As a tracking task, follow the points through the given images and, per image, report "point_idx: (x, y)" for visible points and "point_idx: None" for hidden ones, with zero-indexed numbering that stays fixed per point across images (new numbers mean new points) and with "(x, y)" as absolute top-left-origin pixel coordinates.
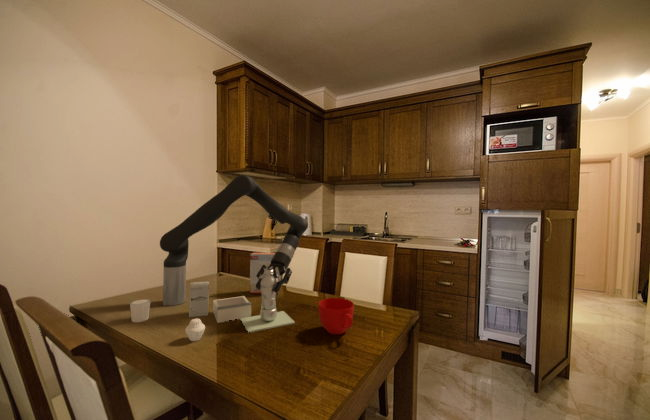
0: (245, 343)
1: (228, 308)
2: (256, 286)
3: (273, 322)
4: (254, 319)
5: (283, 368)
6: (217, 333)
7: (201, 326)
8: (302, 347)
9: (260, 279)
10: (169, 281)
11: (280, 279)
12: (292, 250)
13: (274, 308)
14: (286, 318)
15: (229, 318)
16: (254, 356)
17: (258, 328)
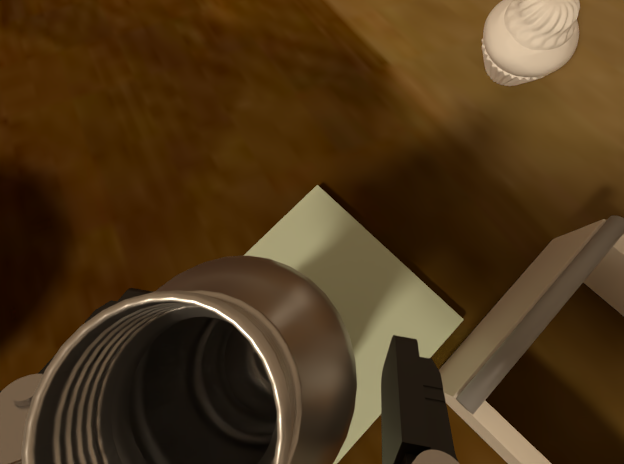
0: (273, 101)
1: (560, 270)
2: (406, 338)
3: None
4: (372, 332)
5: (57, 4)
6: (456, 139)
7: (502, 26)
8: (19, 144)
9: (410, 434)
10: None
11: (3, 407)
12: None
13: (222, 351)
14: None
15: (518, 284)
16: (186, 33)
17: (283, 229)
